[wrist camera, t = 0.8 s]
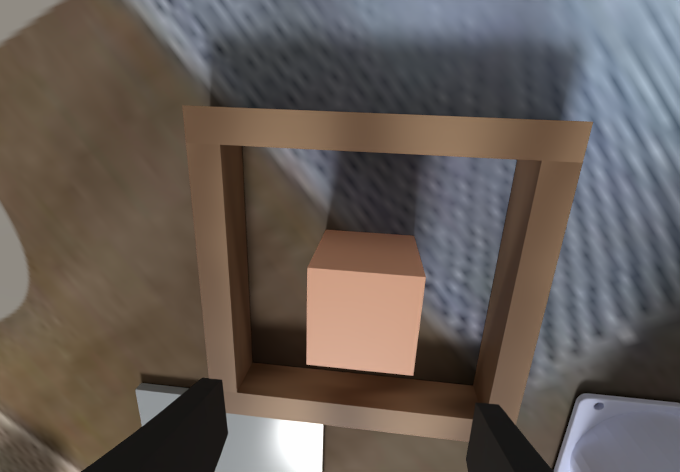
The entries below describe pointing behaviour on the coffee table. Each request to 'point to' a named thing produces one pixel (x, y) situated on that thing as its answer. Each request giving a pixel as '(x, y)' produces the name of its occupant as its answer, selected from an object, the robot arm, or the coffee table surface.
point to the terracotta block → (364, 302)
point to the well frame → (382, 137)
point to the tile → (250, 437)
